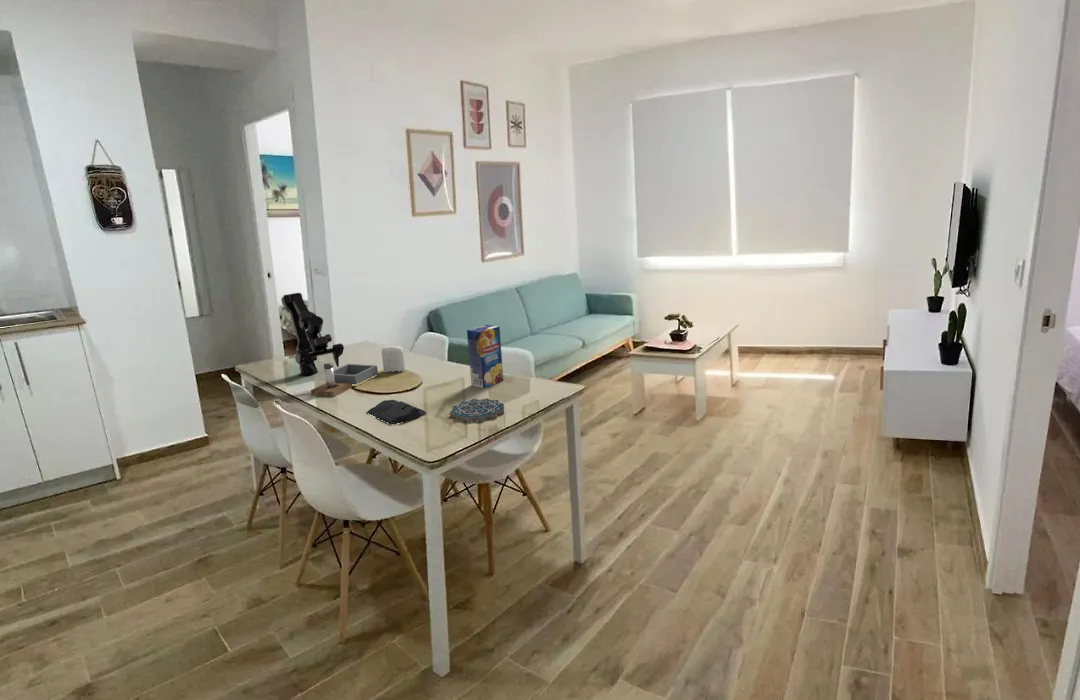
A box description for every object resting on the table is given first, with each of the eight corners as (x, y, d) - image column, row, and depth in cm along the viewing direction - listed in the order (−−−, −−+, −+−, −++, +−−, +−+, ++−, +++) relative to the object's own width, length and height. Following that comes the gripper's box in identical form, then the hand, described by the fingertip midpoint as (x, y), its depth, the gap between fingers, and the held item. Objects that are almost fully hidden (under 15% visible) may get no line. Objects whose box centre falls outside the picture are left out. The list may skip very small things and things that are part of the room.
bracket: (311, 394, 260) (310, 390, 259) (330, 385, 271) (329, 381, 270) (334, 396, 256) (333, 392, 255) (352, 387, 266) (351, 383, 266)
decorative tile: (485, 426, 216) (484, 420, 215) (440, 419, 226) (439, 413, 225) (514, 407, 233) (514, 401, 232) (471, 401, 242) (471, 395, 242)
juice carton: (483, 388, 256) (479, 332, 250) (471, 385, 261) (466, 330, 255) (503, 380, 265) (499, 326, 259) (491, 377, 270) (487, 324, 263)
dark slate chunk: (398, 403, 245) (396, 392, 244) (429, 415, 230) (428, 403, 228) (363, 414, 235) (361, 402, 234) (393, 428, 219) (392, 415, 218)
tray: (326, 384, 273) (325, 373, 272) (349, 373, 287) (348, 363, 286) (356, 386, 267) (355, 376, 266) (378, 375, 282) (376, 365, 281)
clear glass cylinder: (326, 392, 262) (321, 365, 259) (331, 389, 265) (327, 362, 262) (332, 392, 261) (328, 365, 258) (338, 390, 264) (334, 363, 261)
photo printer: (406, 369, 289) (403, 344, 285) (404, 372, 285) (401, 346, 281) (385, 370, 290) (382, 344, 287) (382, 372, 286) (379, 347, 282)
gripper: (295, 333, 257) (307, 363, 251) (339, 325, 267) (351, 354, 261) (293, 348, 265) (304, 377, 259) (336, 339, 276) (347, 368, 270)
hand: (327, 369), depth 262 cm, fingers open, 9 cm apart
